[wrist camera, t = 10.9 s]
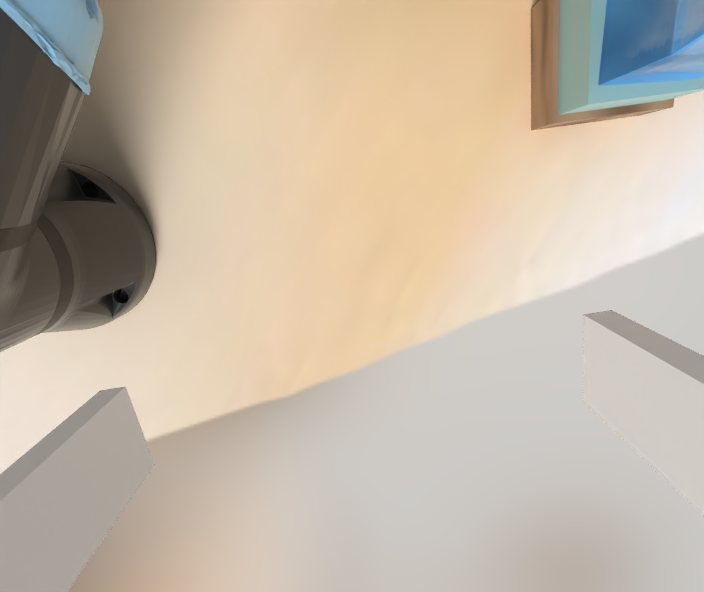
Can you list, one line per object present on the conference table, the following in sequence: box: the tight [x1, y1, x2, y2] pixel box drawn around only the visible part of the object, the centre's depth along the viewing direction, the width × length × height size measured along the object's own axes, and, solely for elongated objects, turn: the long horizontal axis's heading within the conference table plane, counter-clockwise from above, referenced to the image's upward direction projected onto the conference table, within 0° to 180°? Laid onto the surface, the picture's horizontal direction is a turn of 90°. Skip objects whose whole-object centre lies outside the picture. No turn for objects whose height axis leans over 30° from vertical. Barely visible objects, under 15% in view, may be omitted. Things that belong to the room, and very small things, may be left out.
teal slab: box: [558, 0, 704, 115], centre depth 27 cm, size 8×8×4 cm
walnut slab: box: [531, 0, 674, 130], centre depth 30 cm, size 9×9×4 cm
